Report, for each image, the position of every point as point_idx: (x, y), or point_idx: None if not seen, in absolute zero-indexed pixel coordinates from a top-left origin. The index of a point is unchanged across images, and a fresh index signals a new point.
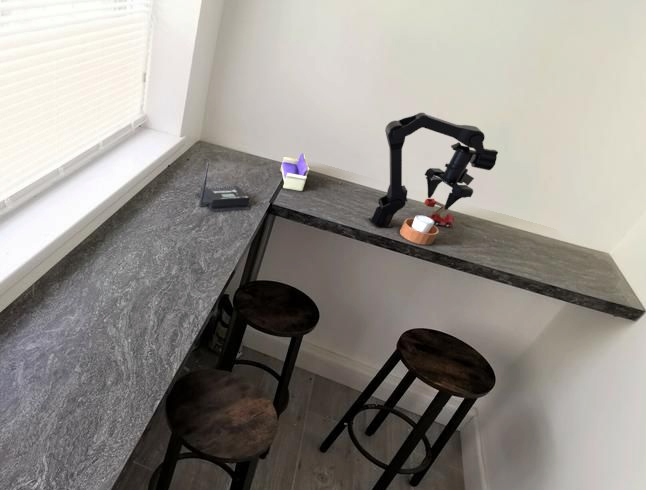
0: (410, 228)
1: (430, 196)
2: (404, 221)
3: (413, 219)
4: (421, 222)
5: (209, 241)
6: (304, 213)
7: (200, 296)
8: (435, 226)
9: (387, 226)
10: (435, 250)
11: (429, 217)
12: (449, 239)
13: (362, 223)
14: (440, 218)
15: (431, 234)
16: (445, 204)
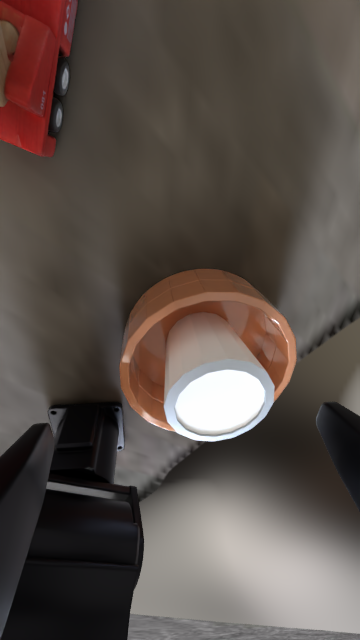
0: None
1: (43, 447)
2: (154, 423)
3: (129, 367)
4: (240, 431)
5: (174, 634)
6: None
7: (278, 631)
8: (227, 292)
9: (122, 419)
10: (312, 327)
11: (15, 139)
12: (259, 150)
13: None
14: (47, 48)
15: (291, 373)
16: (350, 489)
